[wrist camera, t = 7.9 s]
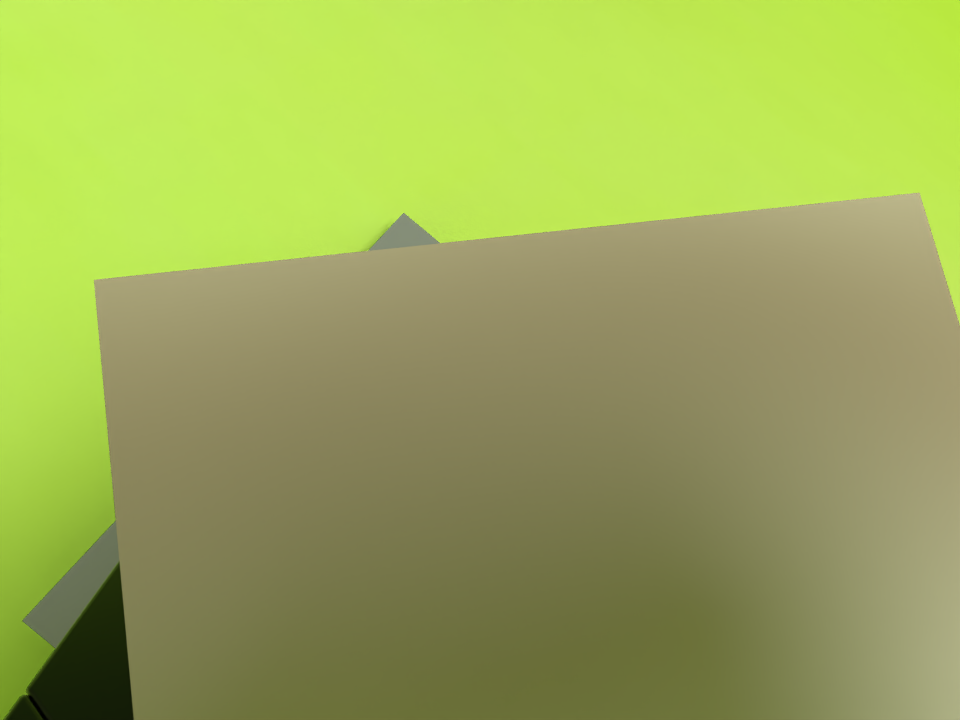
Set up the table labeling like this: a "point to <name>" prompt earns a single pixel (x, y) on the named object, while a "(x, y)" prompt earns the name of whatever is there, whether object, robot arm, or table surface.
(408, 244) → the rubber mat
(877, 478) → the cream square pillar
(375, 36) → the table surface
